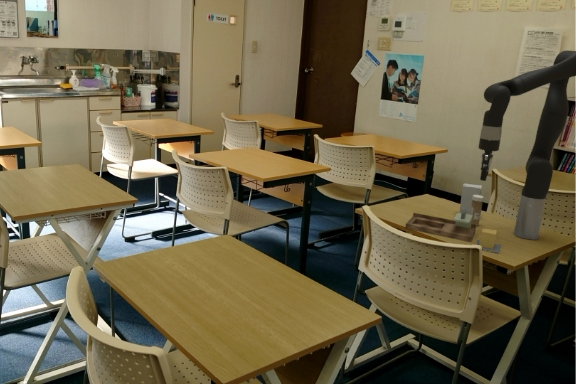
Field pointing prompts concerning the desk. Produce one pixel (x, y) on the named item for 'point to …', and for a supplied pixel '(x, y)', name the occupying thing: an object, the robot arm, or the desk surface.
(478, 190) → the skincare box
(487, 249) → the mat
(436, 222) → the puzzle board
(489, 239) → the block
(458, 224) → the lock slider
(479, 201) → the sprinkles bottle
